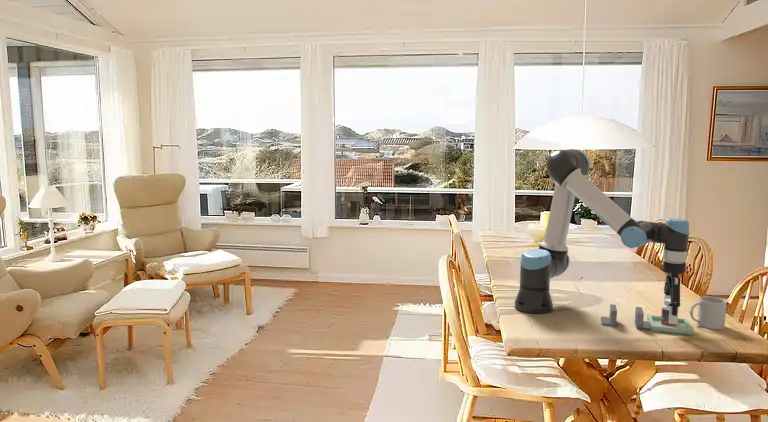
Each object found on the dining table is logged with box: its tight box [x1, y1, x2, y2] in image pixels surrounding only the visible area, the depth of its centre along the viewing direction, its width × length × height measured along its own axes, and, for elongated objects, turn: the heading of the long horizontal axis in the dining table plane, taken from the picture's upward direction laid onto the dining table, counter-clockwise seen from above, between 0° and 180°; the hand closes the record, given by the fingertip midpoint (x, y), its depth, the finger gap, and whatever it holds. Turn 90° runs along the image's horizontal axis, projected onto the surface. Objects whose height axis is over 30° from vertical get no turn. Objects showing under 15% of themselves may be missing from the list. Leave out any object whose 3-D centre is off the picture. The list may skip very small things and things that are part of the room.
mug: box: [689, 295, 728, 330], centre depth 208 cm, size 11×10×10 cm
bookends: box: [600, 303, 652, 332], centre depth 208 cm, size 17×8×6 cm, turn 71°
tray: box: [646, 314, 694, 337], centre depth 205 cm, size 13×13×2 cm
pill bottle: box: [660, 299, 677, 327], centre depth 205 cm, size 5×5×10 cm
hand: (669, 317), depth 205 cm, fingers open, 13 cm apart
